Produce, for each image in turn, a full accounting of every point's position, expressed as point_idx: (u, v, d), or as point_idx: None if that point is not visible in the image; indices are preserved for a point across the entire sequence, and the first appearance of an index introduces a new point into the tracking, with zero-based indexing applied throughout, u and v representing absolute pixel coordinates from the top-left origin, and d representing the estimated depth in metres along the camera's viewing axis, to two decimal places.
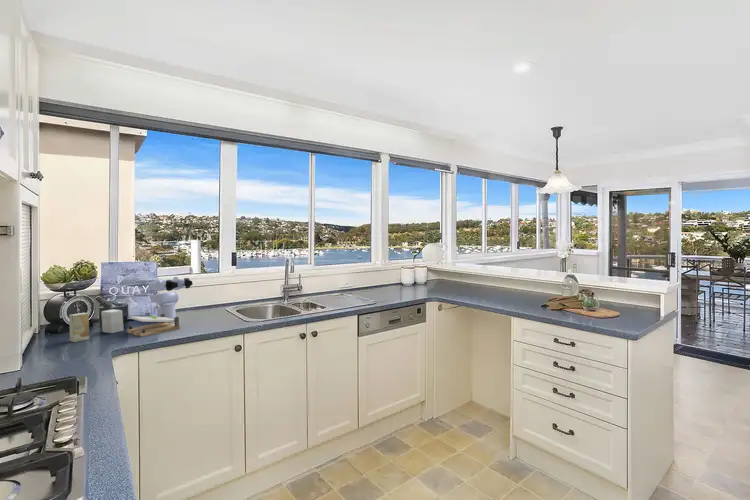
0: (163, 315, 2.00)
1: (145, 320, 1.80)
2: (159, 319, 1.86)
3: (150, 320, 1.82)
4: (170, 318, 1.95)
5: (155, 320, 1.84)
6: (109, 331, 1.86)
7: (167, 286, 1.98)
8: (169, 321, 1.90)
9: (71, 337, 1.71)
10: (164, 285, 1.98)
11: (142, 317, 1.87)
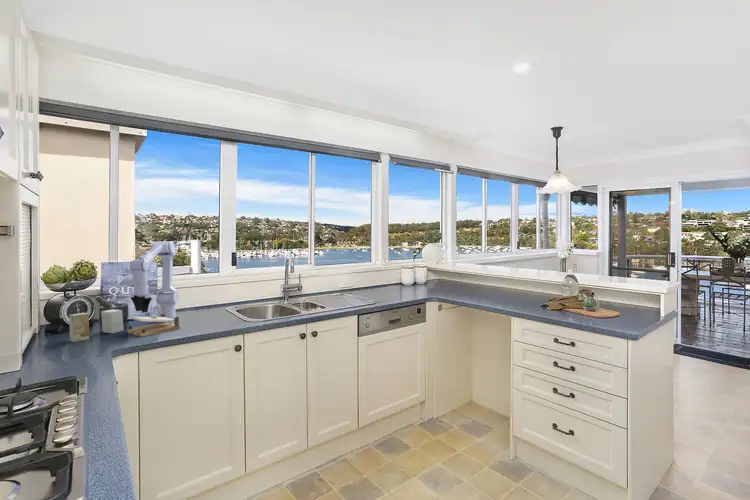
0: (163, 315, 2.00)
1: (145, 320, 1.80)
2: (159, 319, 1.86)
3: (150, 320, 1.82)
4: (170, 318, 1.95)
5: (155, 320, 1.84)
6: (109, 331, 1.86)
7: None
8: (169, 321, 1.90)
9: (71, 337, 1.71)
10: None
11: (142, 317, 1.87)
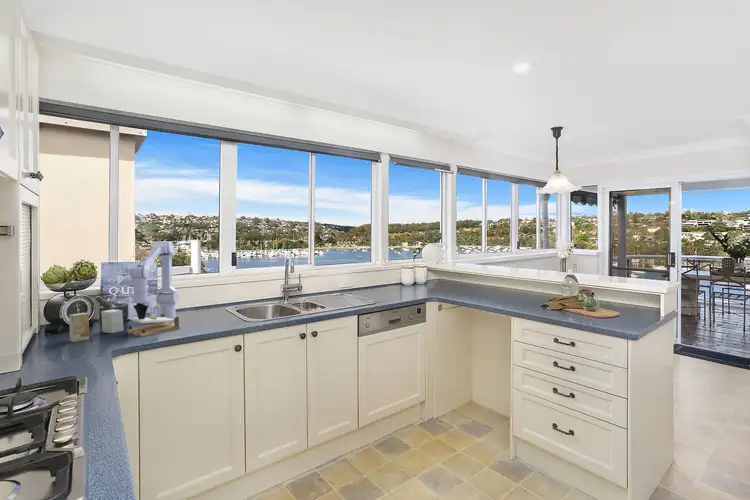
0: (163, 315, 2.00)
1: (145, 321, 1.80)
2: (159, 320, 1.86)
3: (150, 321, 1.82)
4: (170, 318, 1.95)
5: (155, 321, 1.84)
6: (109, 331, 1.86)
7: None
8: (169, 321, 1.90)
9: (71, 337, 1.71)
10: None
11: None
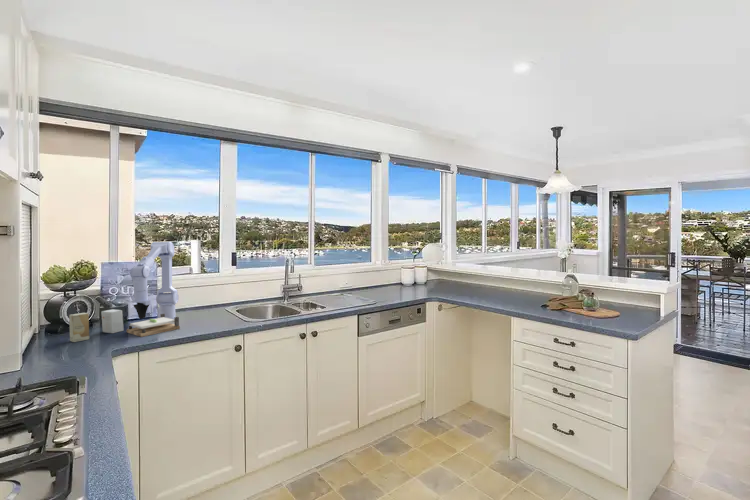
0: (163, 315, 2.00)
1: (145, 327, 1.80)
2: (159, 322, 1.86)
3: (150, 326, 1.82)
4: (170, 318, 1.95)
5: (155, 324, 1.84)
6: (109, 331, 1.86)
7: None
8: (169, 322, 1.90)
9: (71, 337, 1.71)
10: None
11: (141, 322, 1.87)
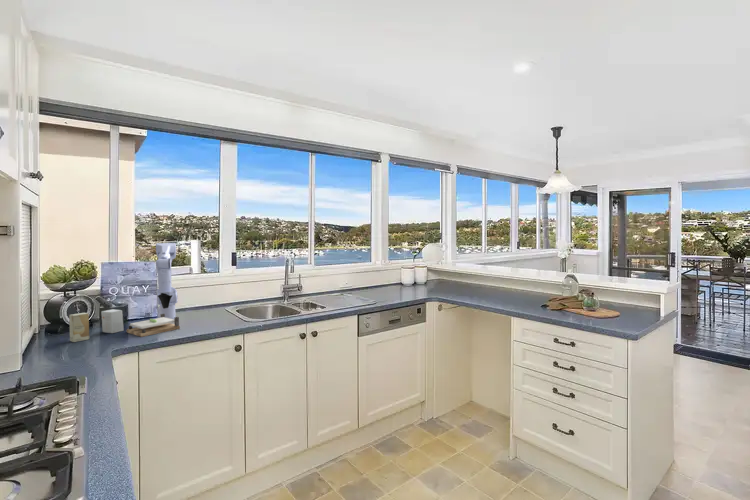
0: (163, 315, 2.00)
1: (145, 327, 1.80)
2: (159, 322, 1.86)
3: (150, 326, 1.82)
4: (170, 318, 1.95)
5: (155, 324, 1.84)
6: (109, 331, 1.86)
7: None
8: (169, 322, 1.90)
9: (71, 337, 1.71)
10: None
11: (141, 322, 1.87)
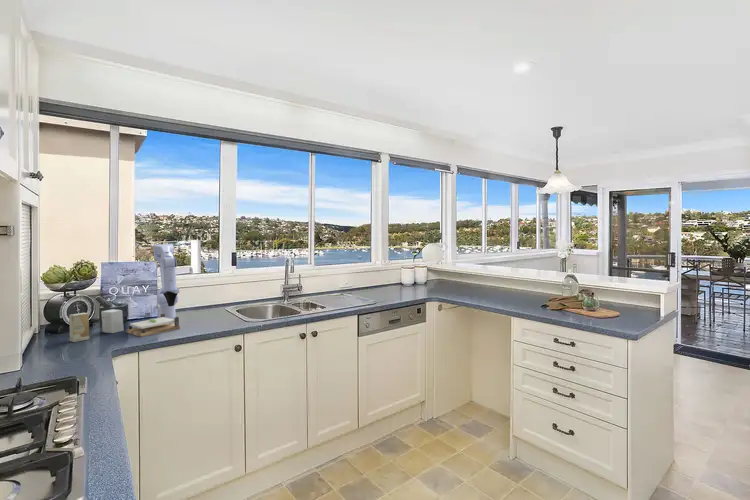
0: (163, 315, 2.00)
1: (145, 327, 1.80)
2: (159, 322, 1.86)
3: (150, 326, 1.82)
4: (170, 318, 1.95)
5: (155, 324, 1.84)
6: (109, 331, 1.86)
7: None
8: (169, 322, 1.90)
9: (71, 337, 1.71)
10: None
11: (141, 322, 1.87)
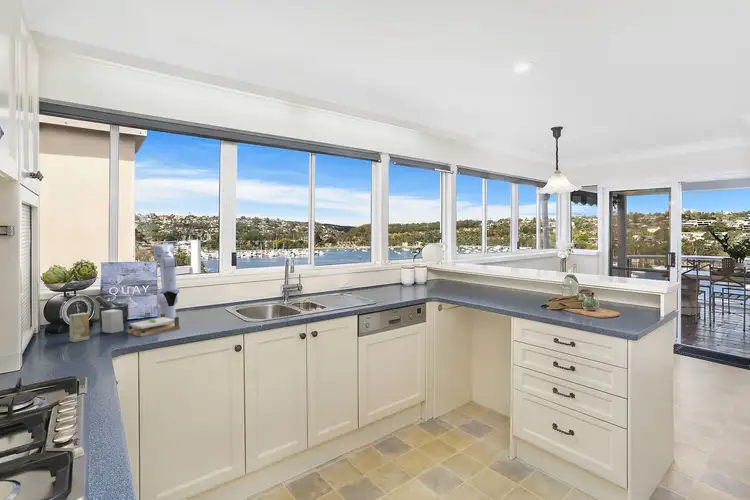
0: (163, 315, 2.00)
1: (145, 327, 1.80)
2: (159, 322, 1.86)
3: (150, 326, 1.82)
4: (170, 318, 1.95)
5: (155, 324, 1.84)
6: (109, 331, 1.86)
7: None
8: (169, 322, 1.90)
9: (71, 337, 1.71)
10: None
11: (141, 322, 1.87)
